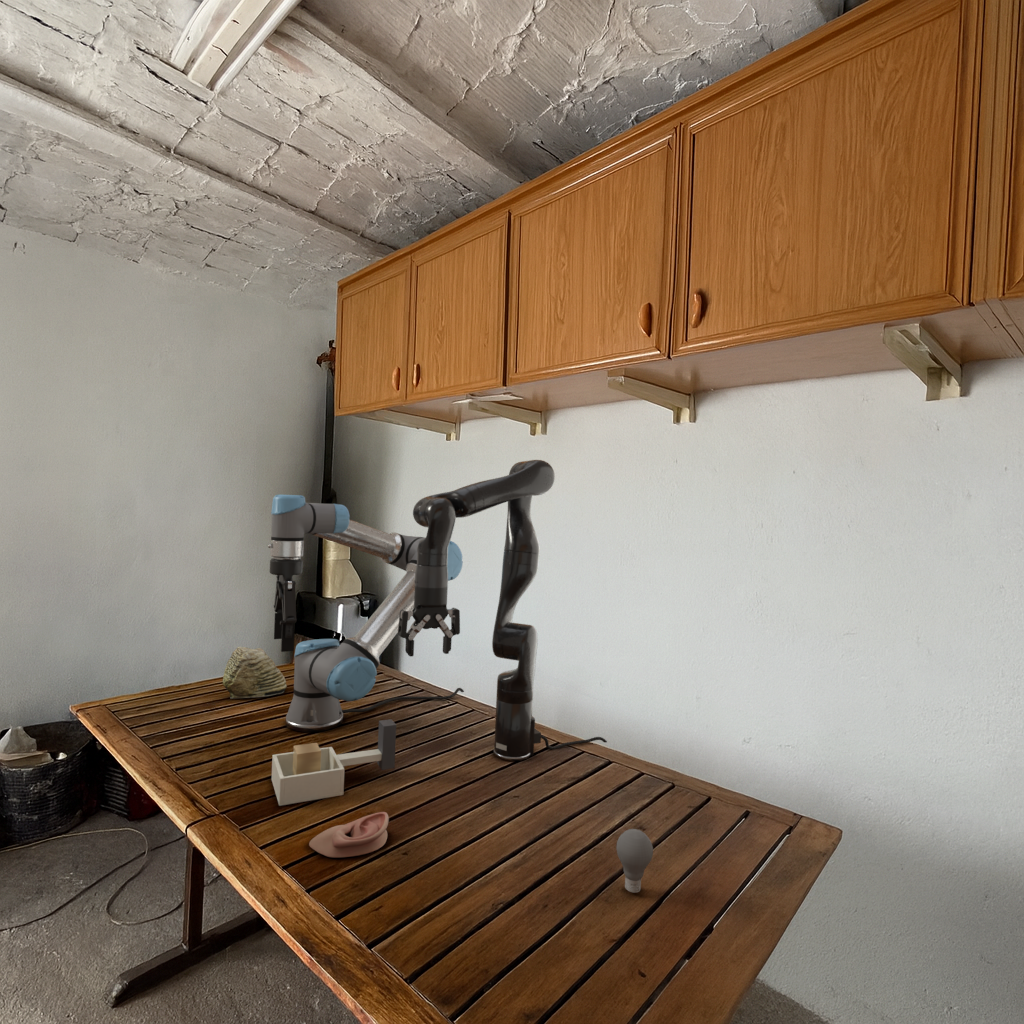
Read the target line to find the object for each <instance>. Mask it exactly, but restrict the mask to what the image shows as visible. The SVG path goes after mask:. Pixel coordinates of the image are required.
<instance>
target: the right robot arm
mask: <svg viewBox="0 0 1024 1024" xmlns="http://www.w3.org/2000/svg"><path fill="white" fill-rule="evenodd" d="M555 481H556V475H555V471H554V469H553V467H552V465H551V463H549V462H547V461H545V460H542V459H531V460H523V461H518V462H516V463H514V464H513V465H512V466H511V468H510V470H509V473H508V474H507V475H504V476H501V477H496V478H491V479H486V480H482V481H478V482H474V483H470V484H467V485H465V486H461V487H460V488H457V489H454V490H451V491H445V492H441V493H435V494H431V495H427V496H424V497H422V498H421V499H419V500H418V501H417V502H416V503H415V505H414V507H413V510H412V516H413V519H414V521H415V523H416V524H418V525H419V526H420V527H423V528H427V532H426V537H425V539H422V540H420V541H419V543H418V548H417V567H416V573H415V580H414V583H415V593H414V609H413V610H412V611H405V610H401V611H400V616H399V626H398V633H397V636H399V637H400V638H402V639H405V653H406V654H407V655H408V657H414V653H415V640H414V639H415V637H416V636H417V634H419V633H420V632H421V630H422V629H424V630H429V629H434V630H435V629H440V630H441V632H442V634H443V636H442V653H443V654H445V655H449V654H450V652H451V650H452V640H453V637H454V636H458V635H460V634H461V611H460V609H458V608H457V607H452V608H447V607H448V606H447V605H448V591H449V590H448V588H449V585H448V584H449V581H448V568H447V564H448V546H449V543H450V541H452V536H453V532H454V529H455V525H456V521H457V520H456V519H457V518H458V519H459V518H468V517H470V516H473V515H475V514H478V513H482V512H484V511H486V510H488V509H491V508H494V507H497V506H499V505H503V504H504V503H507V517H506V527H505V541H504V548H503V555H502V556H503V557H502V570H501V581H500V588H499V589H500V590H499V599H498V603H497V610H496V616H495V621H494V627H493V631H492V641H491V647H492V652H493V655H494V656H495V657H496V658H499V659H504V660H511V661H515V662H516V661H517V662H518V664H517V667H516V668H514V669H510V670H506V671H502V672H500V673H499V674H498V675H497V679H496V698H495V699H496V700H495V703H496V704H495V721H494V722H495V723H494V743H493V755H494V756H495V757H496V758H498V759H500V760H503V761H510V762H518V761H525V760H527V759H528V758H530V757H532V756H534V751H535V745H536V744H541V743H542V740H543V741H544V743H545V747H546V749H548V750H552V751H553V750H558V749H561V748H564V747H567V746H574V745H580V744H588V743H591V742H595V741H601V742H603V743H608V741H607V740H606V739H605V738H604V737H602V736H595V737H591V738H588V739H580V740H573V741H567V742H563V743H560V744H557V745H556V746H551V745H550V744H549V739H548V738H547V736H545V735H543V734H542V732H541V731H539V730H538V729H536V718H535V717H534V716H533V703H534V702H533V701H534V684H535V683H534V682H535V676H536V665H537V653H538V644H539V643H538V641H539V639H538V638H539V637H538V631H537V629H536V627H535V626H534V625H532V624H525V623H519V622H513V619H514V614H515V610H516V607H517V605H518V603H519V601H520V599H521V598H522V596H523V595H524V594H525V592H526V591H527V590H528V589H529V587H530V586H531V584H532V583H533V582H534V581H535V579H536V577H537V575H538V572H539V563H540V551H541V547H540V541H539V538H538V535H537V533H536V530H535V527H534V524H533V521H532V514H531V513H532V512H531V511H532V501H533V500H532V499H533V496H534V497H535V496H542V495H545V494H546V493H548V492H549V491H550V490H551V489H552V488H553V486H554V485H555ZM411 617H412V618H413V619H414V621H413V622H412V624H411V625H410V628H409V629H408V621H410V620H411ZM447 617H449V618H450V628H449V626H448V625H447V623H446V621H445V619H446V618H447ZM407 630H408V631H407Z"/></svg>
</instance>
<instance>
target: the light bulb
mask: <svg viewBox="0 0 1024 1024" xmlns="http://www.w3.org/2000/svg"><path fill="white" fill-rule="evenodd" d="M615 849H616V854H617V857H618V859H619V861H620V863H621V865H622V867H623V873H624V874H623V875H624V876H625V878H624V888H625V890H627V891H628V892H630V893H634V894H635V893H639V892H640V891H641V889H642V887H641V886H642V879H643V877H644V875H645V871H646V868H647V867H648V866H649V864H650V863H651V861H652V859H653V855H654V847H653V843H652V841H651V838H649V836H648V835H647V834H646V833H645V832H643V831H642V830H641V829H636V828H629V829H627V830H625V831H623V832H622V833H621V834H620V835H619V837H618V839H617V841H616V847H615Z"/></svg>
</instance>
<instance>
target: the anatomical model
mask: <svg viewBox="0 0 1024 1024" xmlns="http://www.w3.org/2000/svg"><path fill="white" fill-rule="evenodd" d="M389 817H390V816H389V814H388V813H387V812H385V811H380V812H374V813H371V814H369V815H364V816H362V817H360V818H358V819H355V820H353V821H350V822H348V823H345V824H339V825H335V826H332V827H329V828H327V829H325V830H323V831H322V832H320V833H318V834H316V835H315V836H314V837H313V838H312V839H311V840H309V843H308V846H309V847H310V848H311V849H312V850H313V851H315V852H316V853H318V854H320V855H323V856H325V857H327V858H333V859H334V858H335V859H336V858H339V859H340V858H349V857H357V856H362V855H366V854H369V853H373V852H374V851H377V850H379V849H380V848H382V847H383V846H384V845H385V844H386V842H387V839H388V831H387V828H388V825H389V821H390V818H389Z"/></svg>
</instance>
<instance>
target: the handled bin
mask: <svg viewBox="0 0 1024 1024" xmlns="http://www.w3.org/2000/svg"><path fill="white" fill-rule="evenodd" d="M377 734H378V735H377V748H375V749H368V750H362V751H355V752H354V751H353V752H347V753H339V754H337V753H336V751H335V750H334V748H333V746H328V747H319V748H320V750H321V768H320V771H318V772H311V773H305V774H298V775H292V774H293V751H291V752H283V753H276V754H272V758H271V759H272V760H271V782H272V783H271V784H272V786H273V789H274V793H275V796H276V800H277V803H278V806H279V807H281V806H286V805H292V804H297V803H298V804H299V803H303V802H305V803H306V802H309V801H317V800H321V799H327V798H334V797H338V796H344V795H345V794H344V790H345V789H344V788H345V767H347V766H354V765H361V764H368V763H374V762H376V765H378V767H379V769H381V771H384V770H390V769H395V767H396V745H397V742H396V741H397V738H396V737H397V724H396V723H395V721H393V719H391V718H390V719H389V718H388V719H383V720H381V719H380V720H378V733H377Z"/></svg>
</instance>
